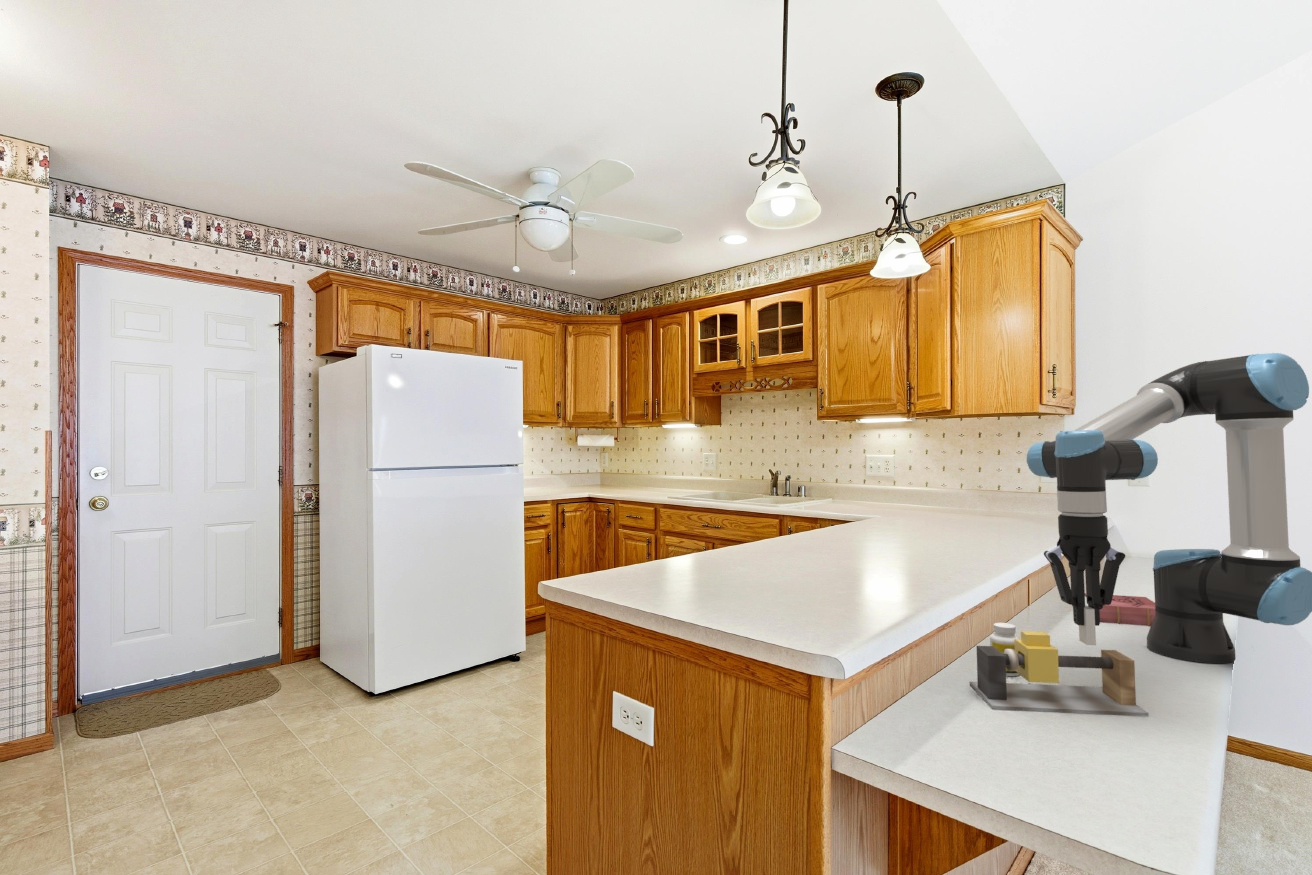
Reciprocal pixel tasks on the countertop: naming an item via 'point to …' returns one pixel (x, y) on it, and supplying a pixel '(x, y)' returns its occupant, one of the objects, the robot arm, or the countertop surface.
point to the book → (1128, 611)
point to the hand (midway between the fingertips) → (1087, 642)
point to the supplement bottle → (1004, 640)
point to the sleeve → (1037, 657)
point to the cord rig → (1107, 699)
